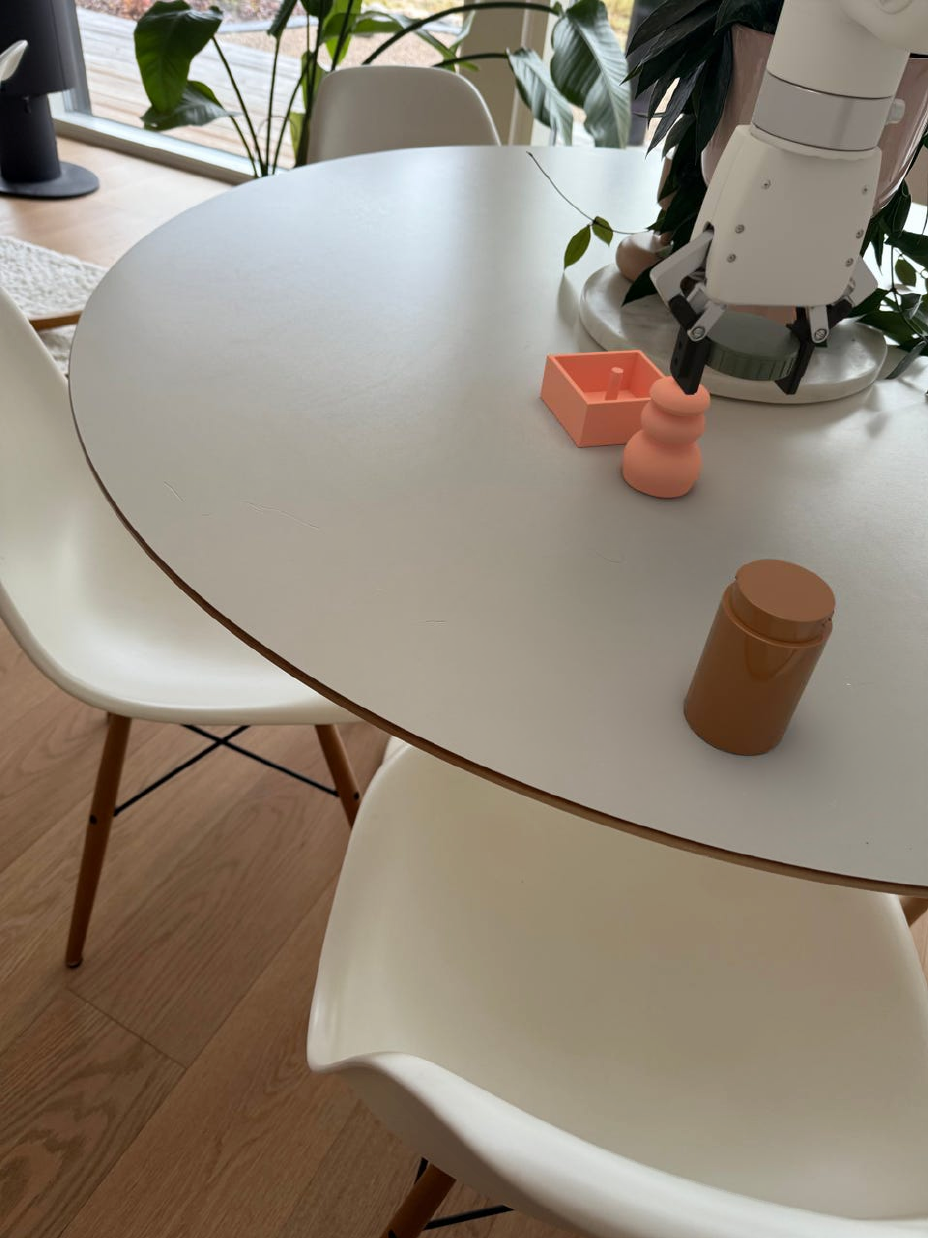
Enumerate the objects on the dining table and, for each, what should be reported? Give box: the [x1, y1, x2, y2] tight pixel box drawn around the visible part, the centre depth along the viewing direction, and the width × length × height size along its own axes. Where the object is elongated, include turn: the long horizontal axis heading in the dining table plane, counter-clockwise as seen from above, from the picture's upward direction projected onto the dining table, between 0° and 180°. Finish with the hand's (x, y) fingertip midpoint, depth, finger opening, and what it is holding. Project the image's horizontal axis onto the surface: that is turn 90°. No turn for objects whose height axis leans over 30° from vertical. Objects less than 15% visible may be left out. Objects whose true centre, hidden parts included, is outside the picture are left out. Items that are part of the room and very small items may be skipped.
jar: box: [683, 558, 836, 756], centre depth 61 cm, size 6×6×11 cm
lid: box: [705, 310, 800, 382], centre depth 69 cm, size 7×7×2 cm
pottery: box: [539, 349, 711, 499], centre depth 86 cm, size 18×10×10 cm, turn 19°
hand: (733, 383), depth 71 cm, fingers closed on lid, 7 cm apart
